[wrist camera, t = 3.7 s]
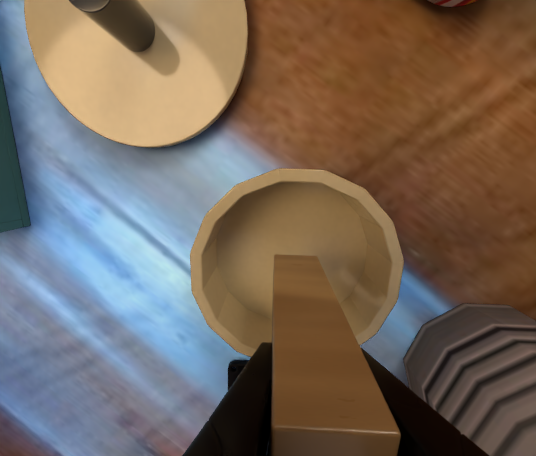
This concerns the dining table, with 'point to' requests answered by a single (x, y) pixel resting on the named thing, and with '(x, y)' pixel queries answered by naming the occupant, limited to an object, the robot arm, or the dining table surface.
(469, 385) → the can
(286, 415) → the stick
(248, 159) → the dining table surface
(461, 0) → the soda can
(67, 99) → the pot lid
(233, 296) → the pot
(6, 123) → the tray
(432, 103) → the dining table surface
